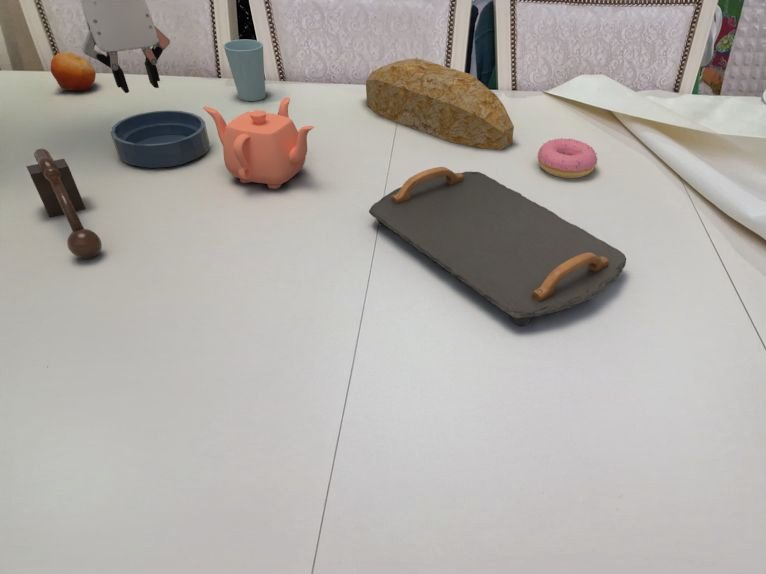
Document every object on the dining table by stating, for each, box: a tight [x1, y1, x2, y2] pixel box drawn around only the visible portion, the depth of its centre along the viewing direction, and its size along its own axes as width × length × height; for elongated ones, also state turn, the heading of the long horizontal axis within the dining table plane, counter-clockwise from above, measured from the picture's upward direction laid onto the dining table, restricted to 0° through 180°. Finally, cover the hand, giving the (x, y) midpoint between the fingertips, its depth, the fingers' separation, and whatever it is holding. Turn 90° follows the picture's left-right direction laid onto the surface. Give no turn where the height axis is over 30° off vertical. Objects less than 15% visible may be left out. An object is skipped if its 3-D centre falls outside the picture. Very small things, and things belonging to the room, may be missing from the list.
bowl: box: [110, 109, 211, 169], centre depth 109 cm, size 15×15×4 cm
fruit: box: [50, 52, 97, 94], centre depth 129 cm, size 8×8×8 cm
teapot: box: [203, 97, 315, 189], centre depth 102 cm, size 14×14×11 cm
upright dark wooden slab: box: [25, 158, 86, 218], centre depth 92 cm, size 3×5×7 cm, turn 127°
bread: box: [365, 57, 515, 151], centre depth 124 cm, size 36×11×10 cm, turn 53°
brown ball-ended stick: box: [33, 148, 103, 260], centre depth 87 cm, size 20×4×9 cm, turn 37°
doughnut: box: [536, 137, 598, 179], centre depth 112 cm, size 11×11×4 cm
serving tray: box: [368, 166, 627, 327], centre depth 90 cm, size 39×23×6 cm, turn 41°
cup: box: [223, 38, 267, 102], centre depth 129 cm, size 8×8×10 cm
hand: (139, 87), depth 113 cm, fingers open, 4 cm apart
